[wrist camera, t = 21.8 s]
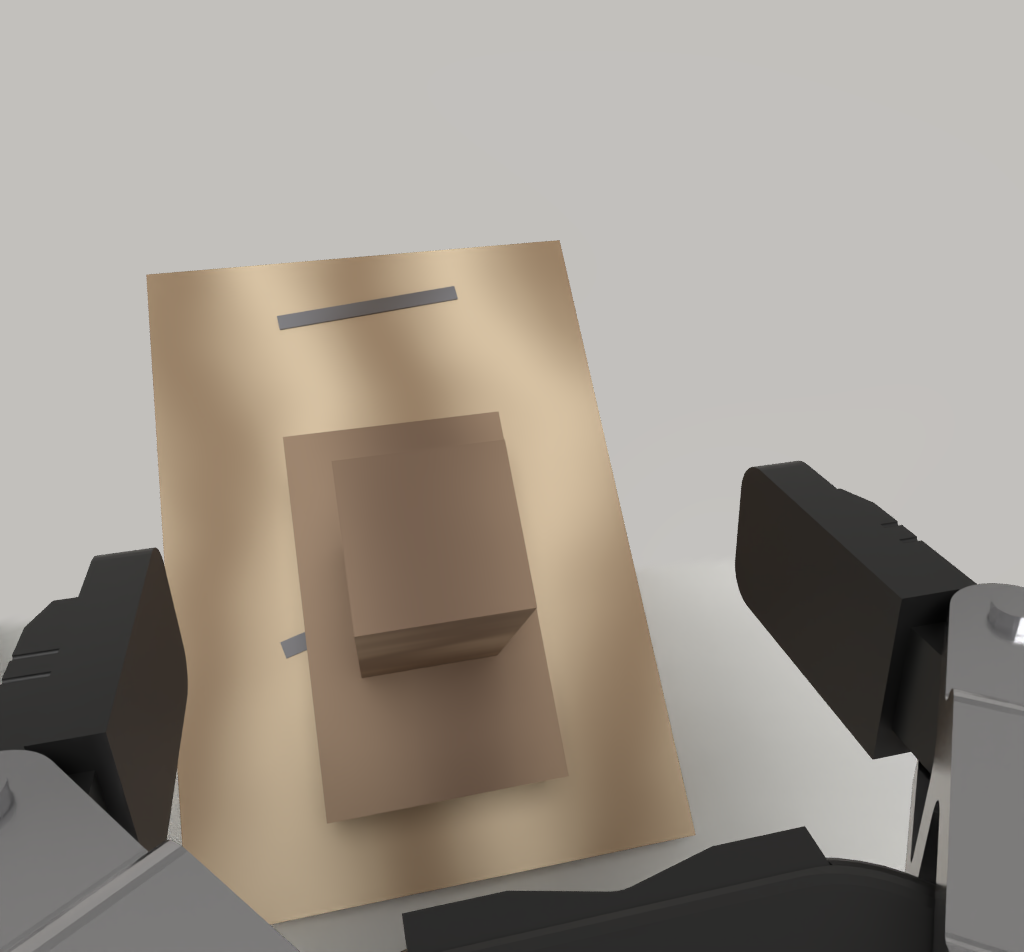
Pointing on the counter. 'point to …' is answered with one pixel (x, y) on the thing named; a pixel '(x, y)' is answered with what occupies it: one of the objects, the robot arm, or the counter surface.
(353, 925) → the counter surface
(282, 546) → the oak board
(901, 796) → the counter surface
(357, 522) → the block
